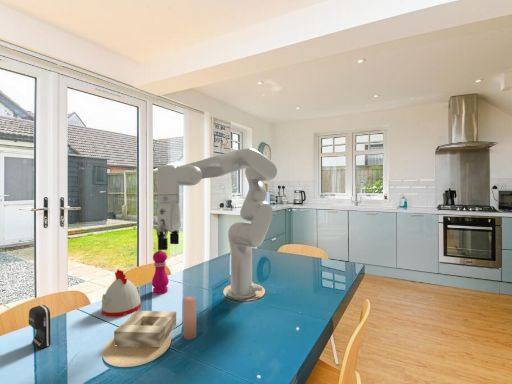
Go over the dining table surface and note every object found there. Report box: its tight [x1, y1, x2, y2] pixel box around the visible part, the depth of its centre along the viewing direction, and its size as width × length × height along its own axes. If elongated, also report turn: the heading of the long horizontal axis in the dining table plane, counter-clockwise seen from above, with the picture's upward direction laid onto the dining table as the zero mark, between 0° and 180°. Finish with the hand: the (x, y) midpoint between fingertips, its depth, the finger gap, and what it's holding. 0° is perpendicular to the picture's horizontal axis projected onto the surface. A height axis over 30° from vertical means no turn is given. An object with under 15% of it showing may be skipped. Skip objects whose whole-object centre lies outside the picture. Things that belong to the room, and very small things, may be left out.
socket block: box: [113, 310, 177, 348], centre depth 91 cm, size 14×14×4 cm
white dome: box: [101, 269, 142, 318], centre depth 110 cm, size 14×14×15 cm
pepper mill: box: [151, 249, 169, 295], centre depth 128 cm, size 7×7×20 cm
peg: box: [182, 296, 197, 340], centre depth 90 cm, size 4×4×12 cm
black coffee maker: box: [28, 304, 52, 349], centre depth 85 cm, size 7×4×11 cm, turn 54°
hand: (168, 246), depth 102 cm, fingers open, 9 cm apart
